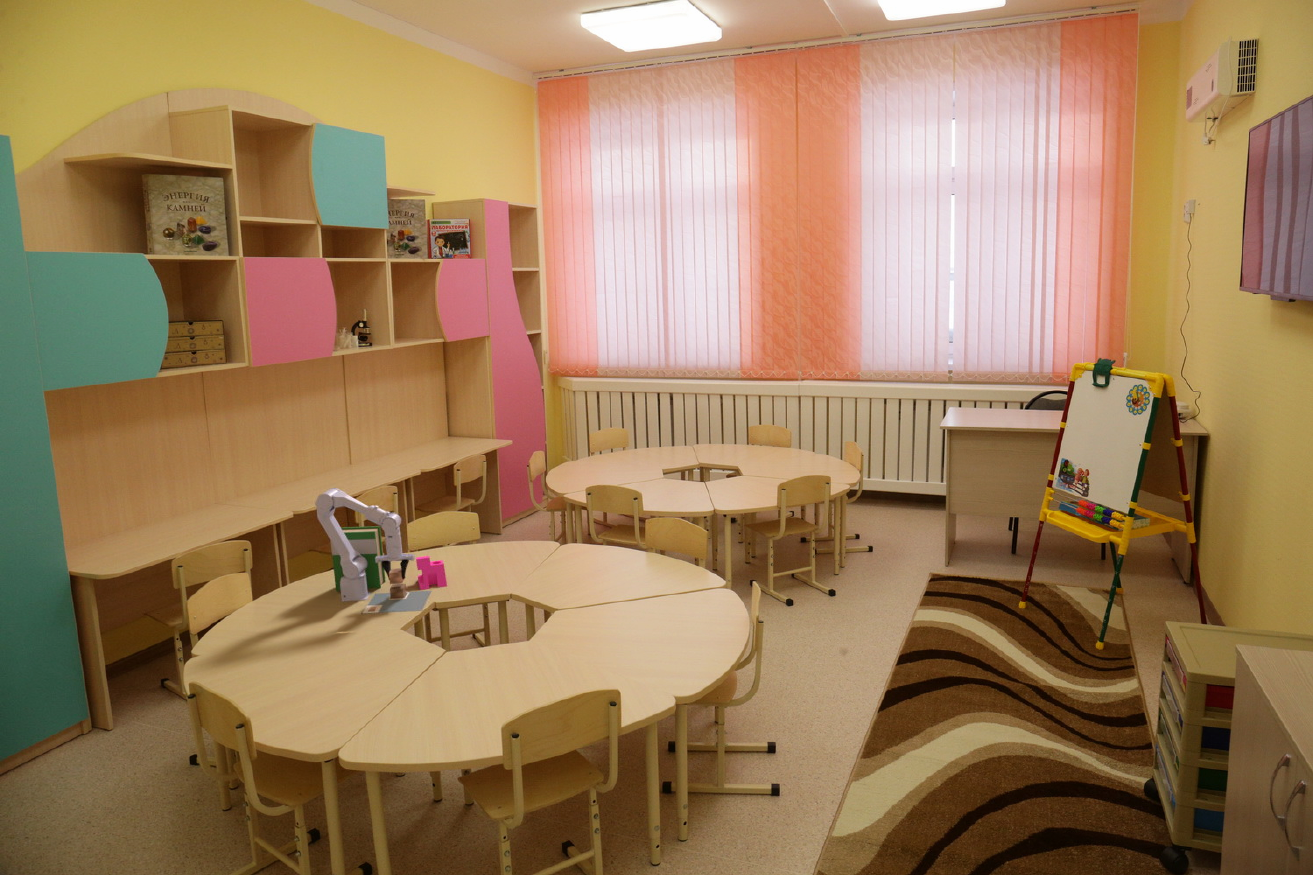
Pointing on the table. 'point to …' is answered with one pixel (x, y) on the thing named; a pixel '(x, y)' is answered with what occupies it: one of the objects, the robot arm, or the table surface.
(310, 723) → the table surface
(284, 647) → the table surface
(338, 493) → the robot arm
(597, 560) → the table surface
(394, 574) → the terracotta block
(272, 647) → the table surface
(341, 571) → the hardback book
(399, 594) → the walnut block
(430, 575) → the bracket
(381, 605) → the mat
